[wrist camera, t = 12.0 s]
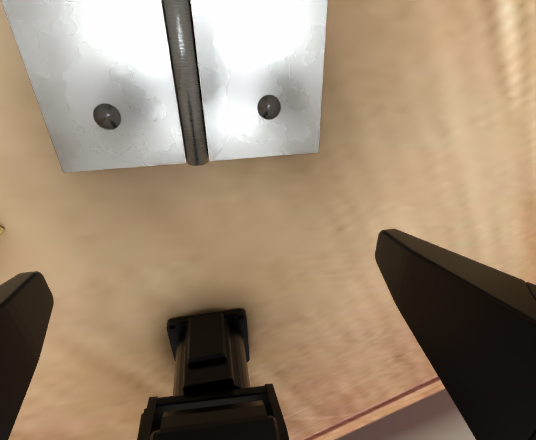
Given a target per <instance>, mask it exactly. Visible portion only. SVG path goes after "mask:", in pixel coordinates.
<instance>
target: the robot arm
mask: <svg viewBox="0 0 536 440" xmlns="http://www.w3.org/2000/svg"><path fill="white" fill-rule="evenodd" d="M375 259H376V262H377V264H378V267H379V269H380V271H381V273H382V275H383V278H384V280H385V282H386V284H387V286H388V289H389V291H390V293H391V295H392V297H393V300H394V302H395V304H396V306H397V307H398V309H399V311H400V313H401V314H402V316H403V318H404V319H405V321H406V323H407V324H408V326H409V328H410V329H411V331H412V333H413V334H414V336H415V338H416V340H417V341H418V343H419V345H420V346H421V348H422V350H423V351H424V353H425V355H426V356H427V358H428V360H429V361H430V363H431V365H432V366H433V368H434V370H435V371H436V373H437V375H438V376H439V378H440V380H441V381H442V383H443V385H444V387H445V388H446V390H447V391H448V393H449V395H450V396H451V398H452V400H453V401H454V403H455V405H456V407H457V408H458V410H459V412H460V413H461V415H462V417H463V418H464V420H465V422H466V423H467V425H468V427H469V428H470V430H471V432H472V433H473V435H474V437H475V439H476V440H536V285H534V284H531V283H529V282H526V283H525V281H524V280H521V279H519V278H516V277H514V276H511V275H509V274H506V273H504V272H501V271H499V270H496V269H494V268H491V267H489V266H486V265H484V264H481V263H479V262H476V261H474V260H471V259H469V258H466V257H464V256H461V255H459V254H457V253H454V252H452V251H449V250H447V249H444V248H442V247H439V246H437V245H434V244H432V243H429V242H427V241H424V240H422V239H419V238H417V237H414V236H412V235H409V234H407V233H404V232H402V231H399V230H397V229H387V230H382V231H380V233H379V235H378V240H377V246H376V251H375ZM53 302H54V301H53V295H52V293H51V291H50V289H49V287H48V285H47V283H46V281H45V278H44V276H43V275H42V274H41V273H40V272H37V271H35V272H27V273H21V274H18V275H16V276H15V277H13V278H11V279H10V280H8V281H7V282H5V283H3V284H2V285H0V440H8V439H9V436H10V433H11V431H12V428H13V426H14V423H15V420H16V418H17V415H18V413H19V410H20V408H21V405H22V402H23V400H24V397H25V395H26V392H27V390H28V387H29V384H30V382H31V379H32V377H33V374H34V372H35V369H36V366H37V363H38V360H39V357H40V354H41V350H42V346H43V342H44V339H45V335H46V331H47V327H48V323H49V319H50V316H51V312H52V308H53ZM239 315H241V316H239ZM172 325H174V326H172ZM167 332H168V336H169V340H170V343H171V347H172V351H173V355H174V359H175V374H174V387H173V396H169V397H160V398H158V396H156V397H149V401H148V405H147V409H144V413H143V414H142V415H141V420H140V427H139V433H138V438H137V440H289V436H288V432H287V428H286V425H285V422H284V419H283V415H282V412H281V409H280V406H279V403H278V400H277V397H276V394H275V390H274V387H273V384H265V386H258V387H250V383H249V375H248V368H247V362H248V361H249V359H250V358H249V345H248V332H247V318H246V312H245V311H244V310H242V309H238V310H231V311H225V312H218V313H211V314H204V315H197V316H190V317H183V318H176V319H171V320H169V321H168V322H167Z"/></svg>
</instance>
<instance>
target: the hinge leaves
mask: <svg viewBox="0 0 536 440" xmlns="http://www.w3.org/2000/svg"><path fill="white" fill-rule="evenodd" d="M1 1H2V4H3V7H4V9H5V12H6V15H7V18H8V21H9V23H10V26H11V29H12V32H13V34H14V37H15V40H16V43H17V45H18V48H19V51H20V54H21V57H22V59H23V62H24V65H25V68H26V70H27V73H28V76H29V79H30V81H31V84H32V87H33V90H34V93H35V95H36V98H37V101H38V104H39V106H40V109H41V112H42V115H43V117H44V120H45V123H46V126H47V129H48V131H49V134H50V137H51V140H52V142H53V145H54V148H55V151H56V153H57V156H58V159H59V162H60V165H61V167H62V170H63V173H67V172H80V171H92V170H105V169H117V168H130V167H143V166H155V165H168V164H180V163H186V161H187V160H188V164H189V165H193V166H198V165H203V164H206V163H207V162H208V159H207V151H206V143H205V134H204V126H203V118H202V109H201V101H200V92H199V84H198V76H197V67H196V59H195V51H194V42H193V34H192V26H191V17H190V9H189V0H163V3H164V9H165V16H166V22H167V29H168V35H169V42H170V48H169V42H168V35H167V29H166V22H165V16H164V9H163V3H162V0H1ZM191 8H192V17H193V25H194V34H195V43H196V51H197V60H198V68H199V77H200V85H201V94H202V102H203V111H204V120H205V128H206V137H207V145H208V154H209V161H218V160H230V159H243V158H255V157H268V156H280V155H293V154H305V153H318V151H319V134H320V117H321V100H322V84H323V67H324V50H325V33H326V16H327V0H191ZM170 49H171V55H172V61H171V55H170ZM172 62H173V68H174V74H173V68H172ZM174 75H175V81H176V87H175V81H174ZM176 88H177V94H176ZM177 95H178V100H177ZM178 101H179V107H178ZM179 108H180V113H179ZM180 114H181V120H180ZM181 121H182V126H181ZM182 127H183V133H182ZM183 134H184V139H183ZM184 141H185V146H184ZM185 147H186V152H185ZM186 154H187V159H186Z"/></svg>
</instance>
